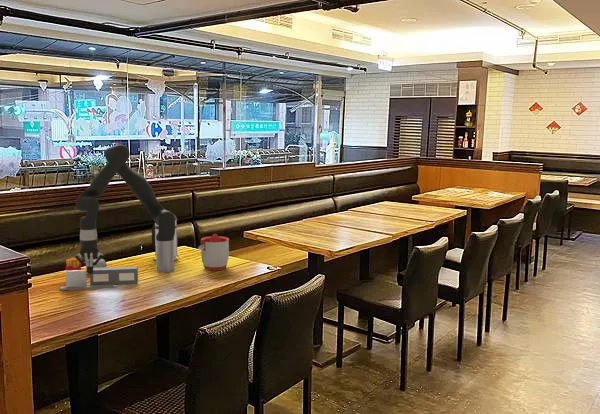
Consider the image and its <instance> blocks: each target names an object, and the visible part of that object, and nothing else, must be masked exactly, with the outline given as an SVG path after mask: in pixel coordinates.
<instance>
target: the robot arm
mask: <svg viewBox="0 0 600 414" xmlns="http://www.w3.org/2000/svg"><path fill="white" fill-rule="evenodd" d="M129 158H130V149H129V148H128V146H126V145H125V144H116V145H112V146H110V147H108V148H106V149H105V151H104V159H105V160H106V162H107V164H106V165H105V166H104V167H103V168H102V169H101V170H100V171H99V172H98V173H97V175H96V176H94V178H93V179H92V181H91V183H90V184H89V186H88V187H87V188H86V189H84V191H82V192H81V194H79V195H78V197H77V198H76V200H75V207H76V209H77V210H78V211H81V212H86V215H85V216H82V217H80V219H79V228H80V229H79V242H80V250H79V253H77V254H76V255H75V257H74V258H76V259H77V260H78V261H79V262H80V263H81V266H85V267H86V268H87V269H86V274H88V275H90V274H92V273H93V266H94V265H96V264H97V263H98V262H99V260H100V259H103V257H104V254H103V253H101V252H100V251H99V249H98V231H97V218H98V213H99V210H100V209H99V208H100V202H99V200H98V199H97V198H100V197H101V196H102V195H103V194H104V192H105V190H106V189H107V188H108V185H109V184H110V182H111V181H112V179H114V177H115V175H116V174H118V175H119V176H120V177H121V179H122V180H123V181H124V183H125V184H126V185H127V186H128V188H129V190H131V192H132V193H133V194H134V196H135V197H136V198H137V199H138V200H139V202H140V203H141V204H142V205H143V207H145V208H146V210H147V212H148V213H149V215H150V217H151V218H152V220H153V221H154V224H155V223H156V224H157V225H158V226H159V227H158V234H157V235H156V256H155V258H156V272H158V273H164V274H165V273H172V272H173V273H174V272H175V258H174V235H175V217H174V215H175V214H174V213H173V212H171V211H170V210H167V209H165V207H163V206H162V204H161V203H160V202H159V201H158V198H157V197H156V194H155V191H154V189H153V187H152V186H151V184H150V183H149V182H148V180H147V179H146V177H144V176H143V175H142V174H140V173H138V172H137V171H136V170H134V169H132V168H131V166H129V165H128V164H127V162H128V160H129ZM96 257H97V258H96ZM83 259H84V260H83ZM95 259H97V260H96V261H95V262H93V261H94V260H95ZM89 260H90V264H89Z"/></svg>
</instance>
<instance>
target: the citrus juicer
mask: <svg viewBox="0 0 600 414" xmlns="http://www.w3.org/2000/svg"><path fill="white" fill-rule="evenodd" d="M229 243H230V238H229V237H227V236H220V235H218V234H217V233H212V235H210V236H209V235H208V236H203V237H202V238H200V245H199V246H198V247H197V249H198V251H200V252H201V253H200V256H201V262H202V265H203V268H204V270H206V271H210V270H211V271H210V272H216V270H218V271H223V270H222V269H224V270H225V269H226V268H227V266H228V262H229V255H230V244H229Z"/></svg>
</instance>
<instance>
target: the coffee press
mask: <svg viewBox="0 0 600 414" xmlns="http://www.w3.org/2000/svg"><path fill="white" fill-rule="evenodd" d="M174 217H175V235H174V260H176V261H179V260H178V259H180V257H179V255H178V224H177V221H178V218H177V216H176V215H175V214H174ZM151 226H152V227H151V245H152V248H153V249H154V250H155V251H154V252H155V255H154V257H153V261H155V258H156V235H157V234H158V227H159V226H158V225H157V224H156V223H155V222H154V223H153V225H151Z"/></svg>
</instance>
